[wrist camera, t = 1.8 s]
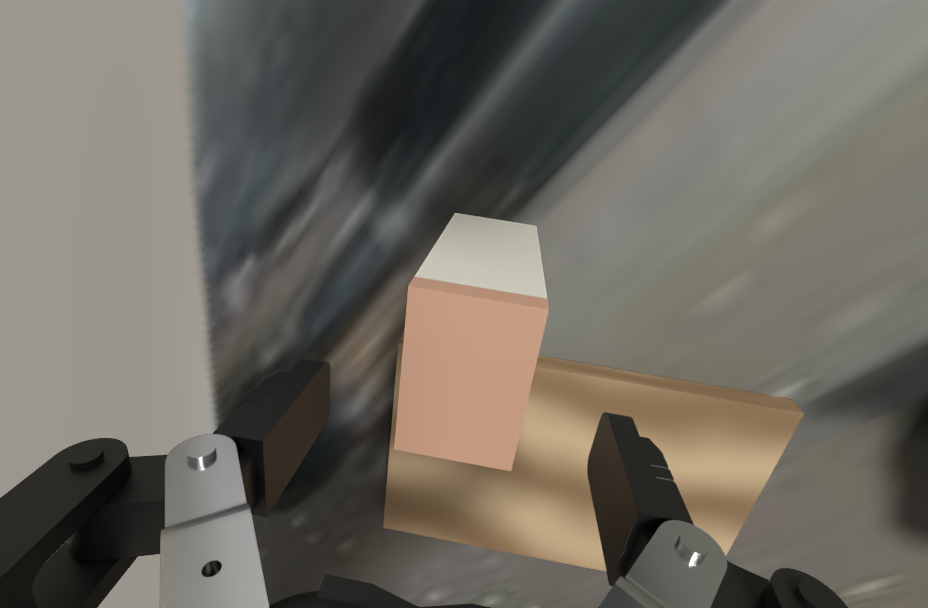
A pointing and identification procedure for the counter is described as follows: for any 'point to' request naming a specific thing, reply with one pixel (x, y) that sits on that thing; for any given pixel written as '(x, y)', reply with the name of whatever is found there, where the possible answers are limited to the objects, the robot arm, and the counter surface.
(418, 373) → the block
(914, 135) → the counter surface
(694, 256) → the counter surface
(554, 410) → the board
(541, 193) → the counter surface
